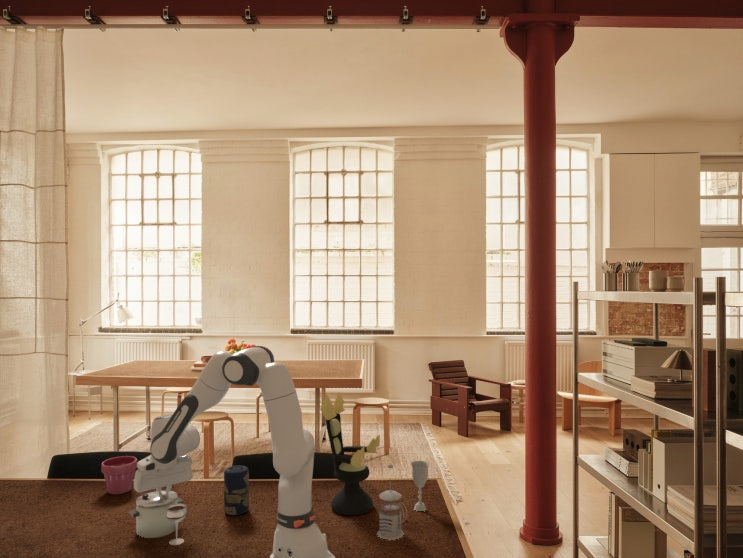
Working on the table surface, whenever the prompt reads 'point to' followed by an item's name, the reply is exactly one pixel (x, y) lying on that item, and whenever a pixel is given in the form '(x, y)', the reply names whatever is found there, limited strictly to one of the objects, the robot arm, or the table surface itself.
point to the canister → (236, 490)
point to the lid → (155, 499)
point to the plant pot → (119, 473)
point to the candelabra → (347, 463)
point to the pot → (153, 520)
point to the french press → (395, 529)
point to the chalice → (420, 480)
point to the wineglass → (176, 518)
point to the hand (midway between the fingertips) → (163, 498)
